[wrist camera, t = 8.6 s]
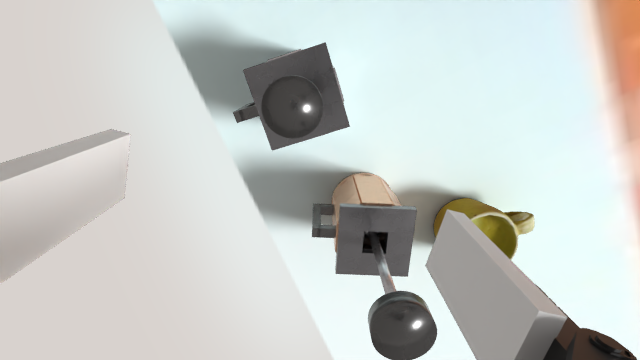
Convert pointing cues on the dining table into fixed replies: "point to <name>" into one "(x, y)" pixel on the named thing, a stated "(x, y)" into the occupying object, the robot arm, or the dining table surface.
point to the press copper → (366, 225)
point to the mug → (491, 222)
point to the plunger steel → (292, 106)
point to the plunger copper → (397, 313)
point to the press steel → (305, 64)
